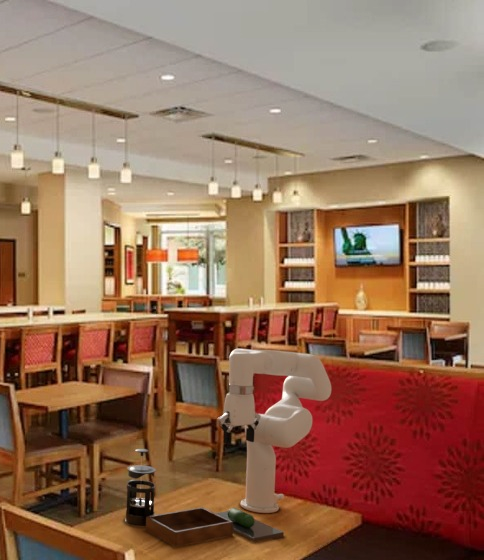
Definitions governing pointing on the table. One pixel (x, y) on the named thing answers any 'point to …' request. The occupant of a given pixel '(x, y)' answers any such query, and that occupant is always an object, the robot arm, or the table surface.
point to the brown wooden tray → (189, 526)
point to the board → (254, 530)
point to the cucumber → (241, 517)
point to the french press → (140, 506)
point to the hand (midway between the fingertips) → (238, 442)
